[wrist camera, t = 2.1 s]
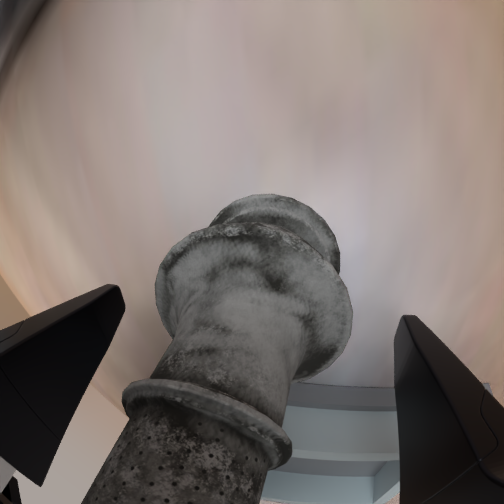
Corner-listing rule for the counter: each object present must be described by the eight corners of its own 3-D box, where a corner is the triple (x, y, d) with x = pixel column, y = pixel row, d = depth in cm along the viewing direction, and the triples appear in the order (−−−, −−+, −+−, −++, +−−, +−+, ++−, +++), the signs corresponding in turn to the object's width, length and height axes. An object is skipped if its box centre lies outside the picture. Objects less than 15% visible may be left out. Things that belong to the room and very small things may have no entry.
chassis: (488, 383, 12) (504, 433, 9) (418, 467, 17) (419, 503, 14) (181, 363, 16) (153, 414, 13) (210, 451, 21) (197, 486, 18)
